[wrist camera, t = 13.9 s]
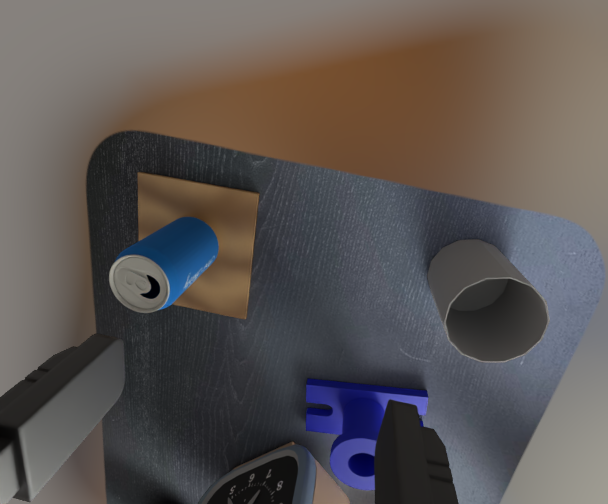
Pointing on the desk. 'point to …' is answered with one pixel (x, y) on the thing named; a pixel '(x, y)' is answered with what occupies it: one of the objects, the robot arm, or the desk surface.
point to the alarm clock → (277, 481)
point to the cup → (486, 302)
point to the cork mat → (225, 223)
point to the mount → (355, 423)
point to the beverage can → (163, 264)
